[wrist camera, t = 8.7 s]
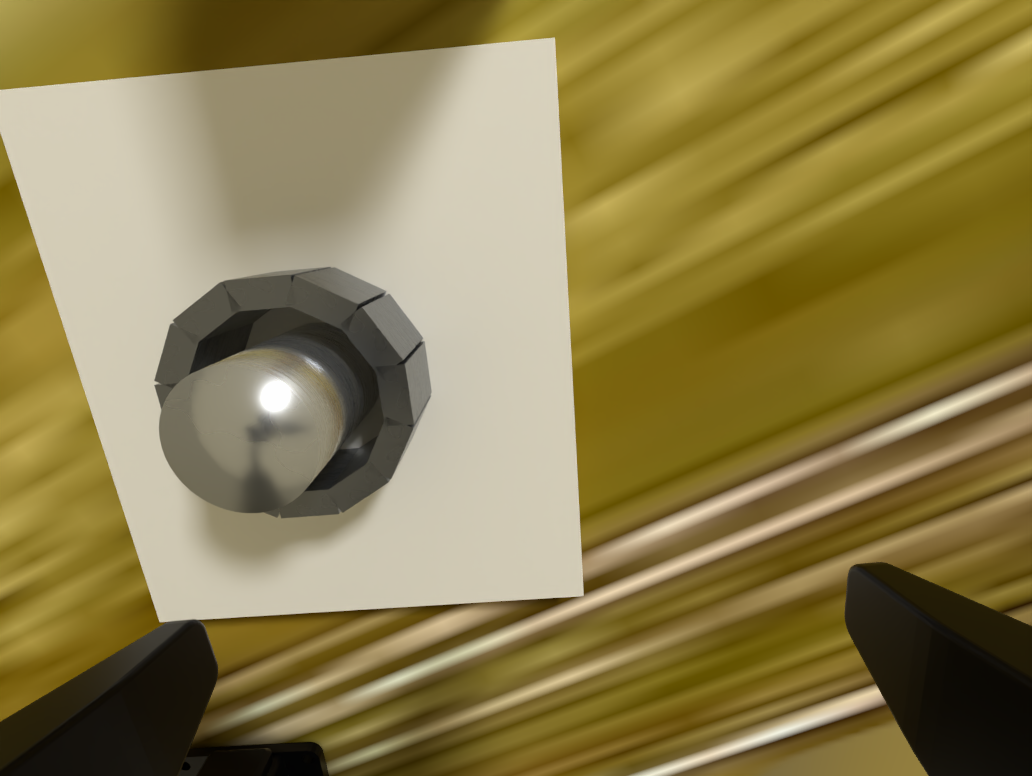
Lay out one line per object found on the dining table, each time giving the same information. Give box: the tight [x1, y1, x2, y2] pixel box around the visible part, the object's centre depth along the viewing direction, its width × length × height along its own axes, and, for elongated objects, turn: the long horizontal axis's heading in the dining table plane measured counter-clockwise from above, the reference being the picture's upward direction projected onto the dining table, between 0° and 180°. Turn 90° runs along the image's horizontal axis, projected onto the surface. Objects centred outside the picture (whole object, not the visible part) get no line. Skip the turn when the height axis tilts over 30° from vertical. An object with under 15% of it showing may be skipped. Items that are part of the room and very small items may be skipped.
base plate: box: [0, 38, 584, 622], centre depth 18 cm, size 18×16×2 cm
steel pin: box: [159, 322, 379, 513], centre depth 15 cm, size 4×4×6 cm
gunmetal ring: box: [154, 267, 432, 518], centre depth 16 cm, size 7×7×3 cm
